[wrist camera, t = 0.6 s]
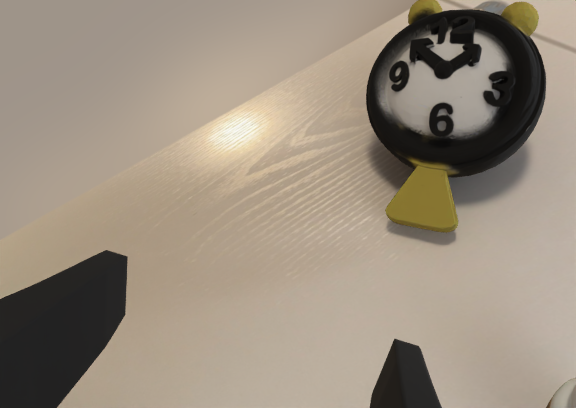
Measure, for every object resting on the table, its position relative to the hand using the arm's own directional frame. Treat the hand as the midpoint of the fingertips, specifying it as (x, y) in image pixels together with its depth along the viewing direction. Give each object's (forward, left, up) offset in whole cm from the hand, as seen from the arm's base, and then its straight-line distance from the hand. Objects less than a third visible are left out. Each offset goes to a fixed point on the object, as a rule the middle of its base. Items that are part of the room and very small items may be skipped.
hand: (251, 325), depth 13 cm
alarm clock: (+23, -12, -19) cm, 32 cm away
